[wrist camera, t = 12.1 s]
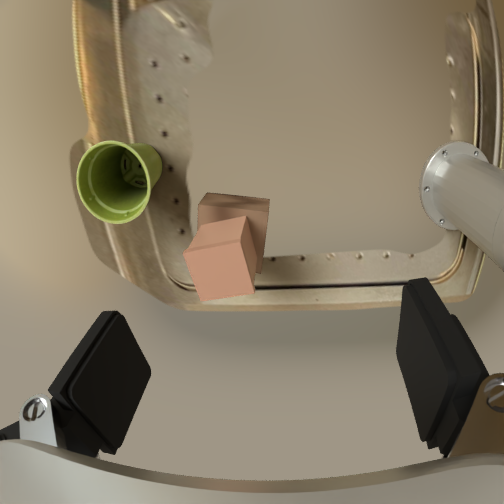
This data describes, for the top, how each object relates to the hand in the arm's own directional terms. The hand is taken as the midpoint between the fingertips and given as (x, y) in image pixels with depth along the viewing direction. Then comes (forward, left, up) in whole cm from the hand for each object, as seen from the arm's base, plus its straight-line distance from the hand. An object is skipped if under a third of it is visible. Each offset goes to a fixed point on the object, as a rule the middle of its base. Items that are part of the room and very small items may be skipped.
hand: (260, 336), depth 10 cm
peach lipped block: (+6, +8, -26) cm, 28 cm away
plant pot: (+17, -2, -31) cm, 35 cm away
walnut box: (+6, +8, -31) cm, 32 cm away
